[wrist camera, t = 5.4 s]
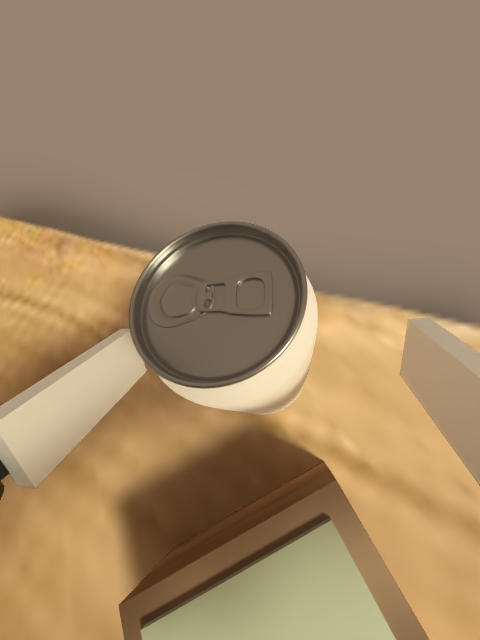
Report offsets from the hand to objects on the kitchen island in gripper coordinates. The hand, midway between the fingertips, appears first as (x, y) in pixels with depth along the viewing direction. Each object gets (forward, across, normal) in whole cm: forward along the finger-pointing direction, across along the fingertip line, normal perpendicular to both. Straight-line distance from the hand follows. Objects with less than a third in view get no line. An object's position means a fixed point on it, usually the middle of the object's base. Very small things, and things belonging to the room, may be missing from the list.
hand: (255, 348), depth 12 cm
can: (+5, -1, -5) cm, 7 cm away
